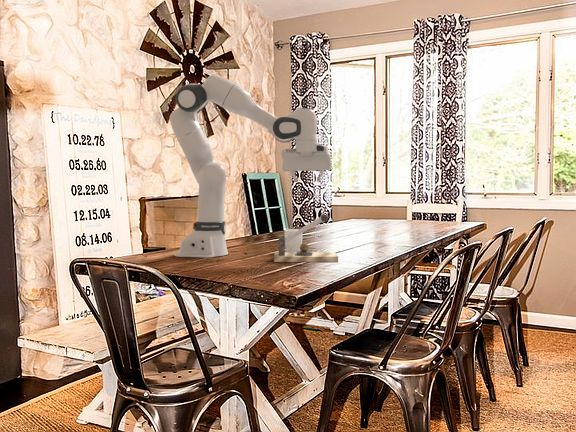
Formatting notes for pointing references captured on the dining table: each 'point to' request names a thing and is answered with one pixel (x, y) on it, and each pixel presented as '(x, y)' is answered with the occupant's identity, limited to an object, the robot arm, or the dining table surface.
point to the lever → (306, 227)
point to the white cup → (293, 241)
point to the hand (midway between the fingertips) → (307, 181)
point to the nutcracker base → (302, 254)
